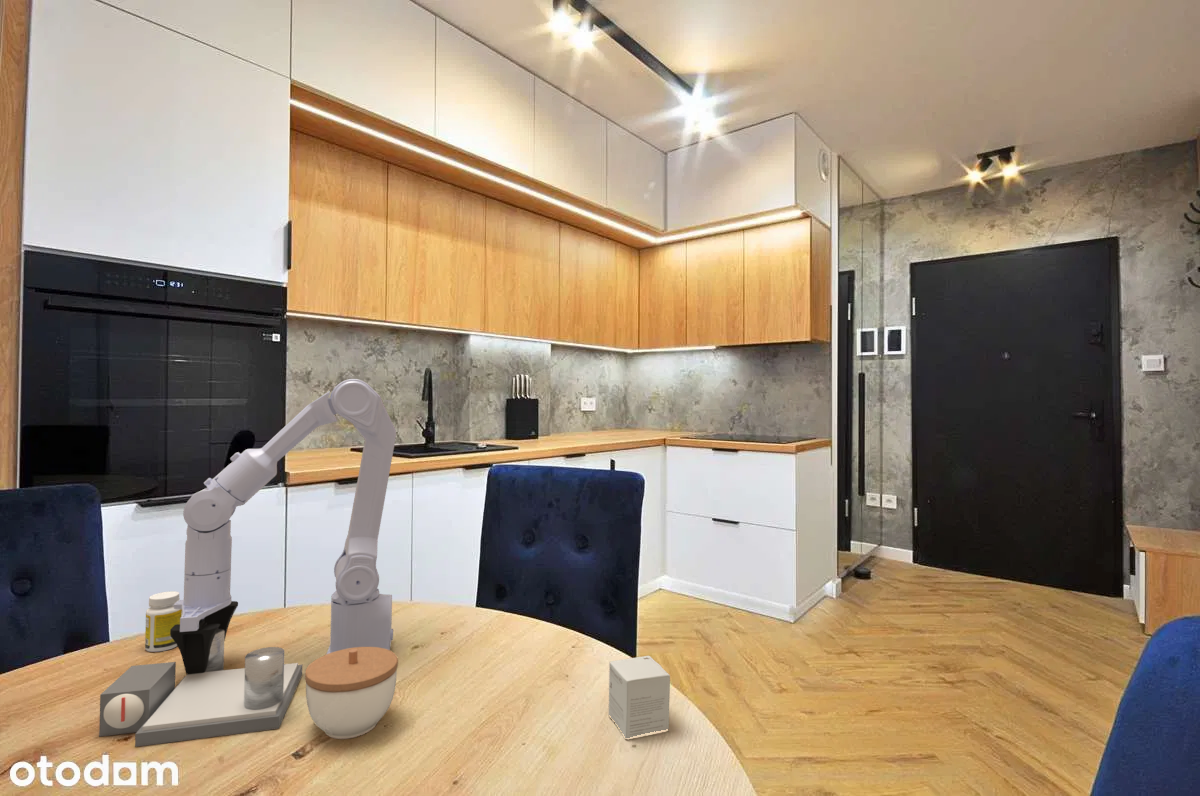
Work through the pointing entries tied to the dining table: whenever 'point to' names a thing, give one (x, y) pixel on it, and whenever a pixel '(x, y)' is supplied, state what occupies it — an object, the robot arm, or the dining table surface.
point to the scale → (186, 704)
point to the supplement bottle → (161, 621)
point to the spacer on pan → (263, 678)
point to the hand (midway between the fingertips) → (205, 663)
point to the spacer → (216, 652)
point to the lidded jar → (350, 690)
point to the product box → (639, 695)
